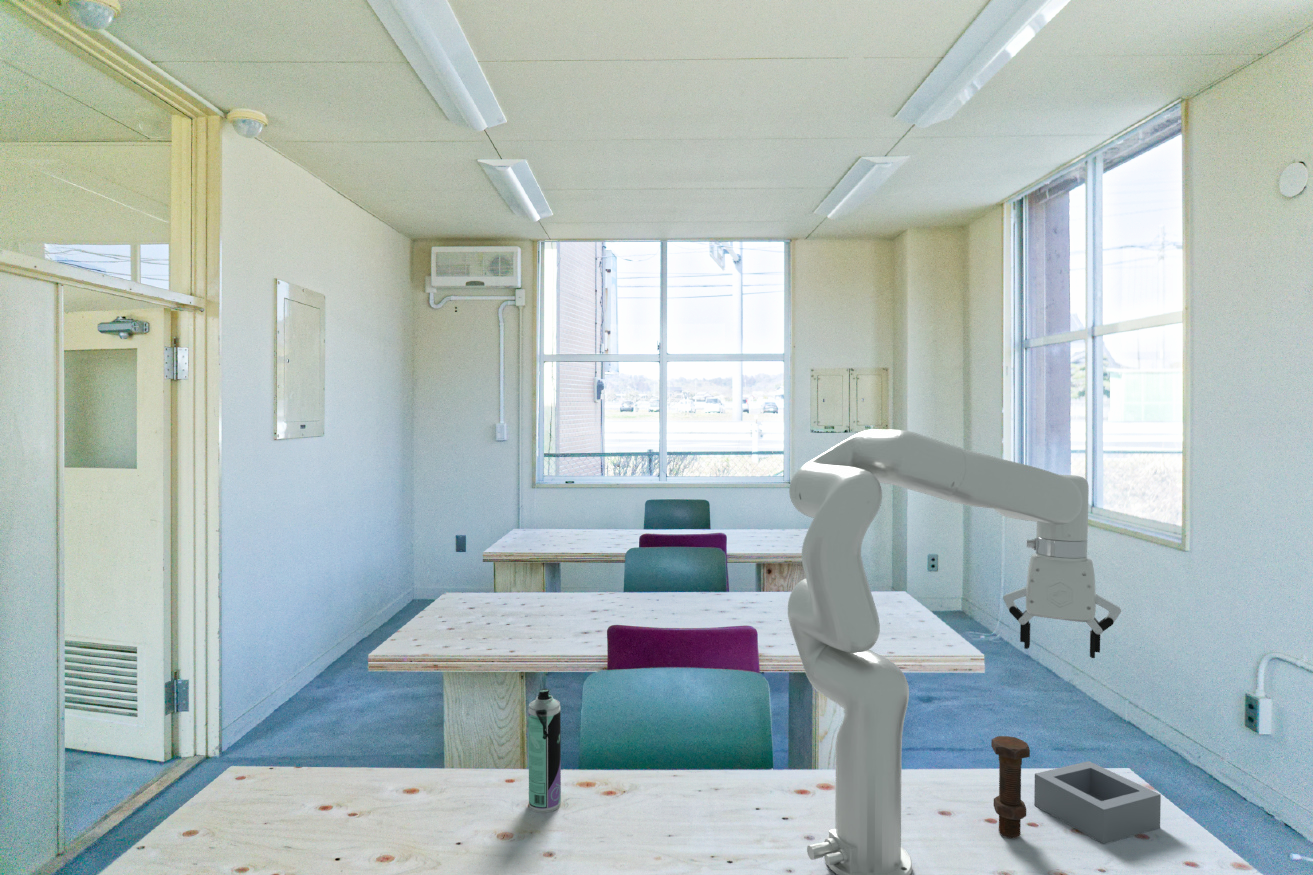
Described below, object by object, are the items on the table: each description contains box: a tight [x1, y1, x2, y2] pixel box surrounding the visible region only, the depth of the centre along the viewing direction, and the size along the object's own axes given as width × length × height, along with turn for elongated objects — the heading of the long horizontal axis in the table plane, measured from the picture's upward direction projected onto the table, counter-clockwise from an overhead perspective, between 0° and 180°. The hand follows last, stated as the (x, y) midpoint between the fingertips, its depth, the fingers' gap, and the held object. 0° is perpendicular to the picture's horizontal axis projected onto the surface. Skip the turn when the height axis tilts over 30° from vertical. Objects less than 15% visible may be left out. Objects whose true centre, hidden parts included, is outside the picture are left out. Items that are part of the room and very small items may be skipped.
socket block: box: [1033, 760, 1162, 845], centre depth 127 cm, size 13×13×6 cm
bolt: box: [990, 735, 1031, 839], centre depth 121 cm, size 6×5×15 cm
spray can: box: [528, 688, 562, 814], centre depth 131 cm, size 6×6×20 cm
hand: (1059, 651), depth 126 cm, fingers open, 9 cm apart
